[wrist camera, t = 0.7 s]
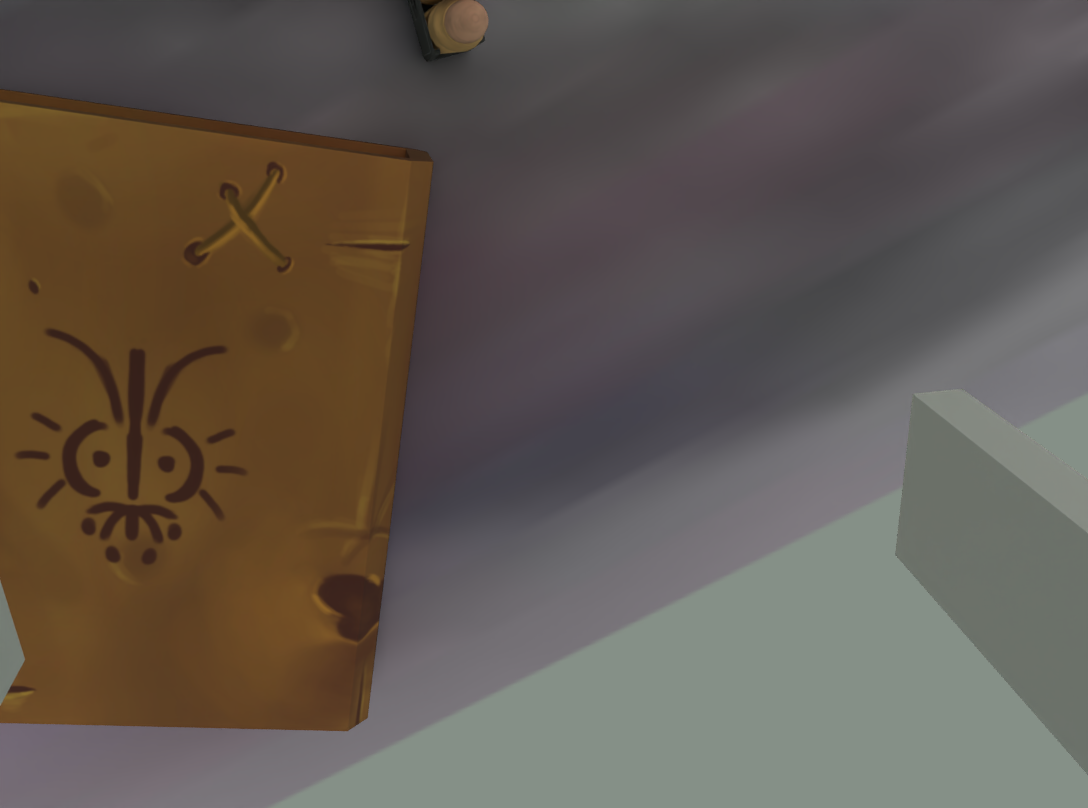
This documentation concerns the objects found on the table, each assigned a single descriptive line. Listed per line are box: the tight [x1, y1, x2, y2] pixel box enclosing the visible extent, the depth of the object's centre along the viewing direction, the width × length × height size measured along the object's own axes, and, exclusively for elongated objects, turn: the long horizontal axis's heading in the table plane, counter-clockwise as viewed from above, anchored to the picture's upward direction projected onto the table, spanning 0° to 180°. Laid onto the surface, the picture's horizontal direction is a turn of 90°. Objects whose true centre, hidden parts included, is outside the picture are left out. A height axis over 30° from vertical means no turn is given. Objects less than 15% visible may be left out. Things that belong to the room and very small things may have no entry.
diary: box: [0, 89, 433, 731], centre depth 38 cm, size 23×19×6 cm
